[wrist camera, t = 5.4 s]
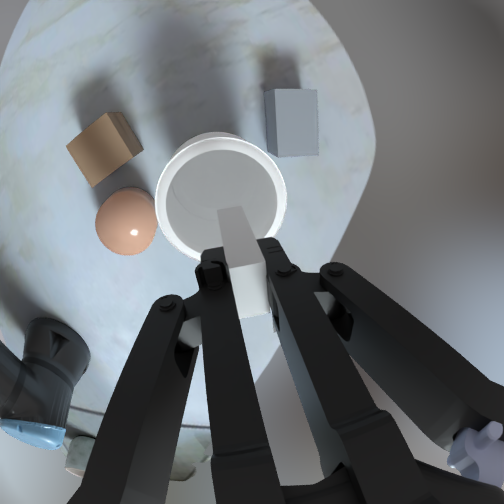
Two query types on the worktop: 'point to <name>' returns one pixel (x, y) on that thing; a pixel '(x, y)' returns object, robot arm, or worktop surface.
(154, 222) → the glossy peach dome
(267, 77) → the worktop surface
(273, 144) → the slate block
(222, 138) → the jar
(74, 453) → the planter
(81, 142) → the walnut block
